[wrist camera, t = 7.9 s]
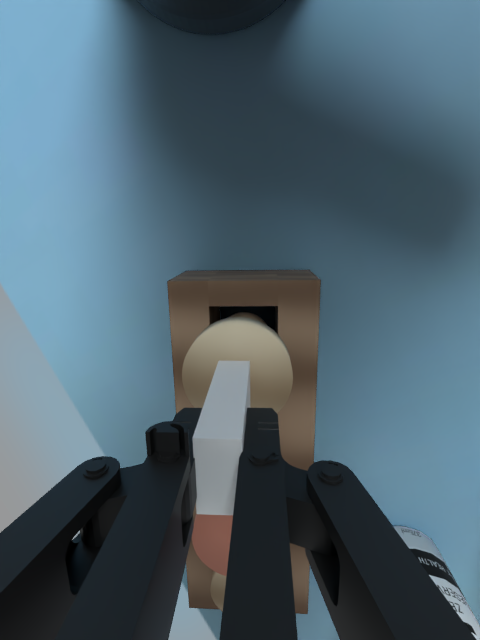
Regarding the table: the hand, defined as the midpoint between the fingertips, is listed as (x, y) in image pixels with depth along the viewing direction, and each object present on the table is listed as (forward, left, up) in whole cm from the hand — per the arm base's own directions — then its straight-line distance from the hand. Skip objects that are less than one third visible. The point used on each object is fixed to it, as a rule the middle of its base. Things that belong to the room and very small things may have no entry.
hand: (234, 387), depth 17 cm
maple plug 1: (0, 0, -7) cm, 7 cm away
